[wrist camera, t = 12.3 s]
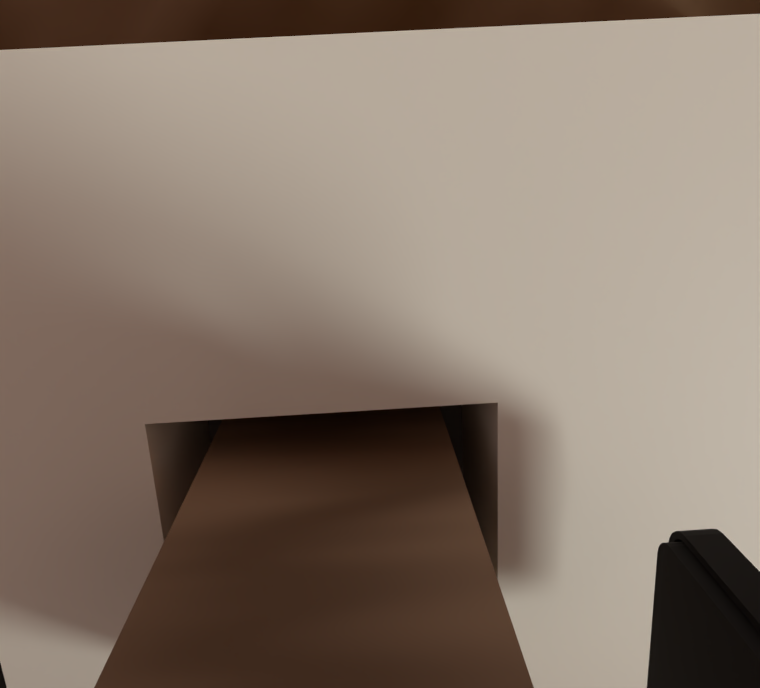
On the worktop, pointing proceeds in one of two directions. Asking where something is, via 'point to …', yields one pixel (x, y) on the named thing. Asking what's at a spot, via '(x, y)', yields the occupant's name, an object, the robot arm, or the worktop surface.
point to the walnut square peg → (323, 566)
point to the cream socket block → (384, 302)
